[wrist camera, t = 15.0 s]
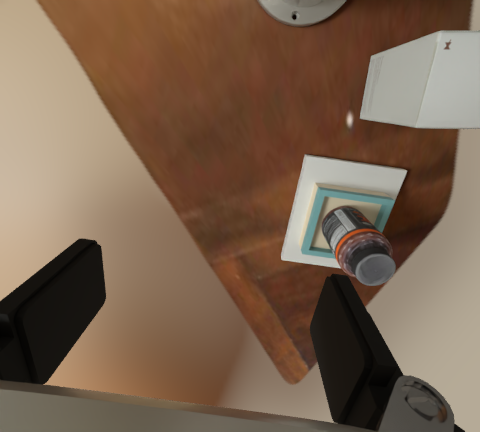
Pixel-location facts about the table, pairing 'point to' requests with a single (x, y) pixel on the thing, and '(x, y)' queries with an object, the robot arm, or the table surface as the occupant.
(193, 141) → the table surface
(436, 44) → the supplement box
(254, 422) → the robot arm
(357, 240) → the supplement bottle
